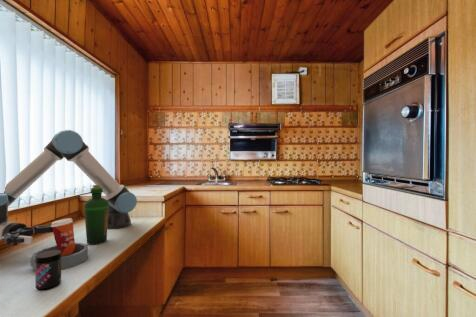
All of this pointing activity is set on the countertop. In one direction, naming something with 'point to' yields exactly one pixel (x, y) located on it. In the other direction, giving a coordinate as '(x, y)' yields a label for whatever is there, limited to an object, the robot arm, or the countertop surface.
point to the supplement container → (47, 270)
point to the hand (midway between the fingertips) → (49, 235)
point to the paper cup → (64, 236)
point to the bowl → (69, 260)
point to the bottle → (96, 217)
